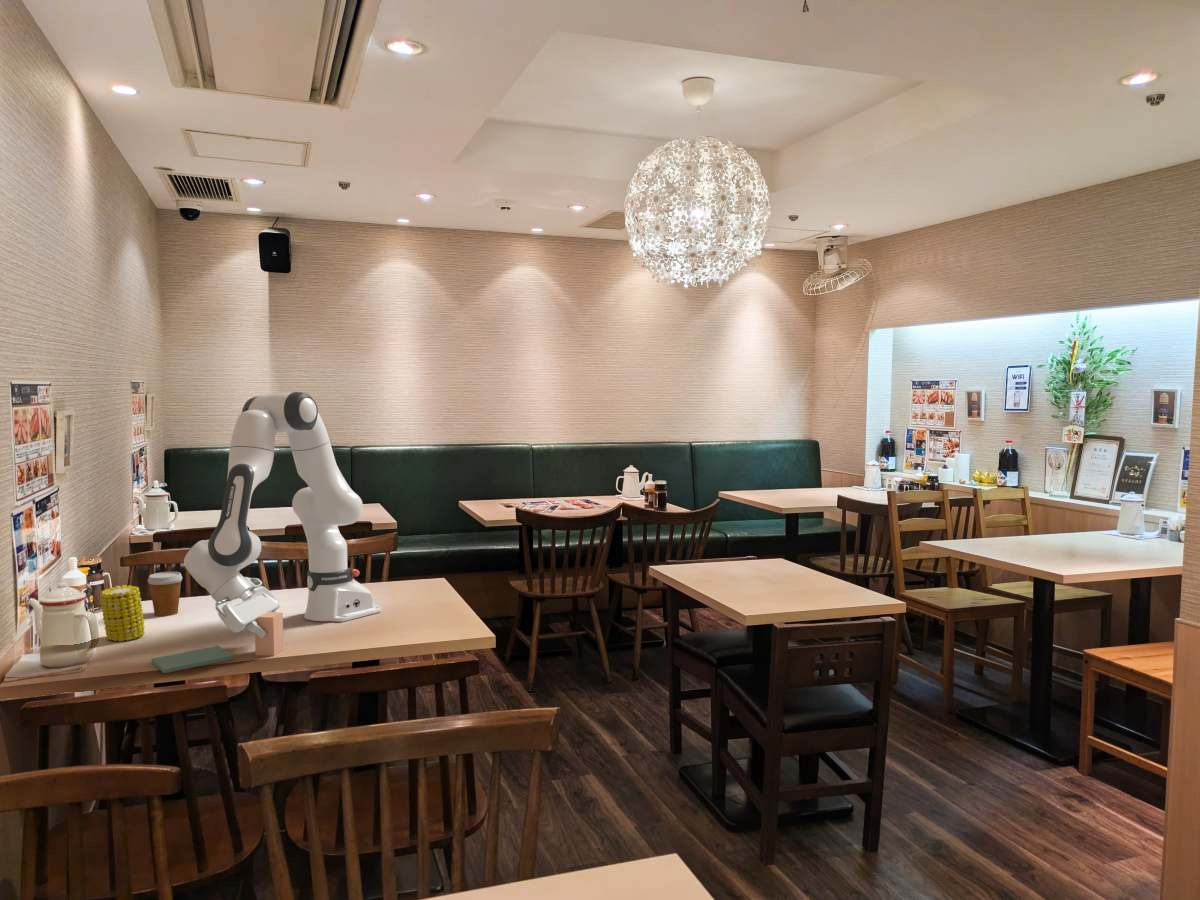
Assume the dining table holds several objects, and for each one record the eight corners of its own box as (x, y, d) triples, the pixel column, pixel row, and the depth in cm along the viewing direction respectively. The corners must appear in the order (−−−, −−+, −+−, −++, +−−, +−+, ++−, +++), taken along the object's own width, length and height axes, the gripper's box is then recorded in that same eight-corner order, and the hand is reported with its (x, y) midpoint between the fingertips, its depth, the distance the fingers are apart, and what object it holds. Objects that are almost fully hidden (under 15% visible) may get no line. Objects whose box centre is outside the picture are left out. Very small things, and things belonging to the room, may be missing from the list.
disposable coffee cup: (183, 615, 252) (182, 576, 251) (147, 619, 248) (146, 579, 247) (184, 608, 260) (182, 570, 260) (149, 611, 256) (148, 573, 255)
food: (151, 640, 231) (115, 652, 223) (126, 625, 237) (90, 636, 228) (155, 590, 228) (118, 599, 219) (129, 576, 233) (92, 584, 225)
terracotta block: (265, 649, 219) (264, 611, 219) (283, 649, 219) (282, 612, 218) (255, 655, 214) (254, 616, 214) (274, 655, 214) (273, 617, 213)
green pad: (218, 649, 219) (218, 645, 219) (233, 659, 211) (232, 655, 211) (151, 662, 208) (151, 658, 208) (164, 673, 200) (163, 669, 200)
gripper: (220, 595, 206) (259, 635, 205) (262, 577, 226) (297, 613, 226) (203, 612, 206) (242, 652, 206) (246, 592, 227) (282, 629, 226)
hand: (271, 632), depth 216 cm, fingers closed on terracotta block, 5 cm apart
